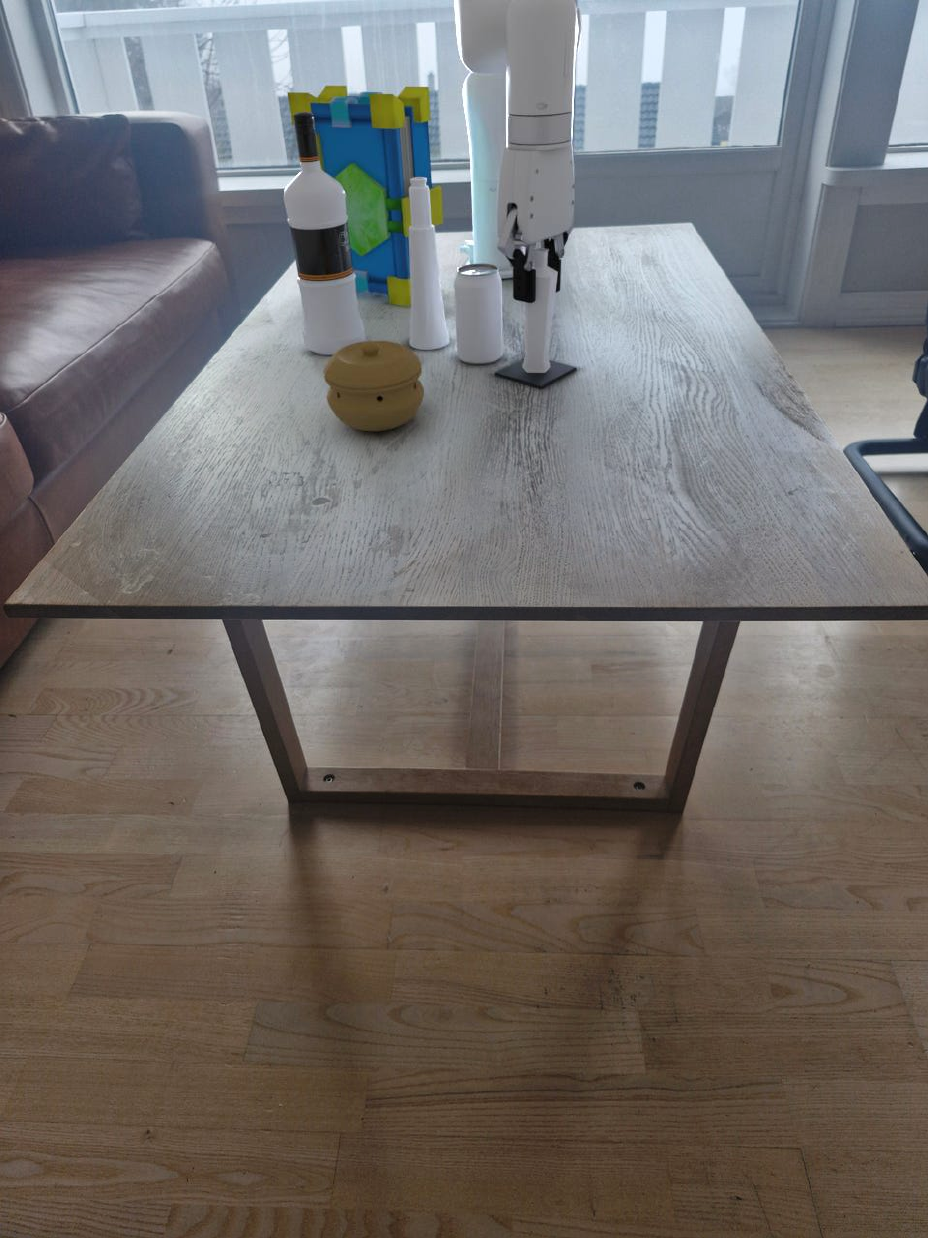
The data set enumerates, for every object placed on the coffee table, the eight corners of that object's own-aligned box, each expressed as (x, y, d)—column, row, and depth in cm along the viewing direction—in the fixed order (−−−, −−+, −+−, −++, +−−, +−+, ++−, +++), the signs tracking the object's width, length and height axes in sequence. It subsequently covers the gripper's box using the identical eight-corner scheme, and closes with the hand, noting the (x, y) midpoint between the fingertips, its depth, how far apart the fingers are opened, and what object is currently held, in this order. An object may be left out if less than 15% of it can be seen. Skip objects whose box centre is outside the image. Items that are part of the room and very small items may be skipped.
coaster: (494, 375, 108) (494, 372, 108) (530, 357, 113) (530, 354, 113) (541, 388, 104) (541, 385, 104) (576, 369, 109) (576, 367, 108)
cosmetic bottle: (402, 348, 118) (387, 181, 104) (419, 334, 122) (407, 173, 109) (439, 351, 116) (429, 183, 102) (455, 338, 120) (447, 174, 107)
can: (508, 350, 115) (507, 263, 108) (494, 367, 111) (493, 276, 103) (466, 347, 117) (462, 261, 110) (451, 363, 112) (446, 274, 105)
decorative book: (407, 311, 132) (388, 95, 113) (301, 294, 142) (269, 93, 123) (453, 287, 141) (443, 84, 122) (351, 273, 151) (328, 83, 132)
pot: (354, 399, 104) (344, 321, 98) (439, 407, 101) (434, 327, 95) (314, 437, 95) (300, 355, 89) (406, 447, 92) (398, 363, 86)
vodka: (300, 340, 122) (260, 111, 104) (358, 331, 125) (330, 105, 106) (312, 360, 115) (272, 118, 97) (373, 350, 118) (346, 112, 99)
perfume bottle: (553, 362, 110) (558, 245, 101) (552, 373, 106) (558, 253, 97) (520, 361, 110) (522, 245, 101) (518, 373, 107) (521, 253, 98)
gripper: (556, 119, 98) (552, 275, 109) (466, 139, 88) (472, 307, 100) (608, 122, 94) (598, 284, 105) (519, 143, 84) (519, 318, 96)
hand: (536, 293), depth 102 cm, fingers closed on perfume bottle, 4 cm apart
